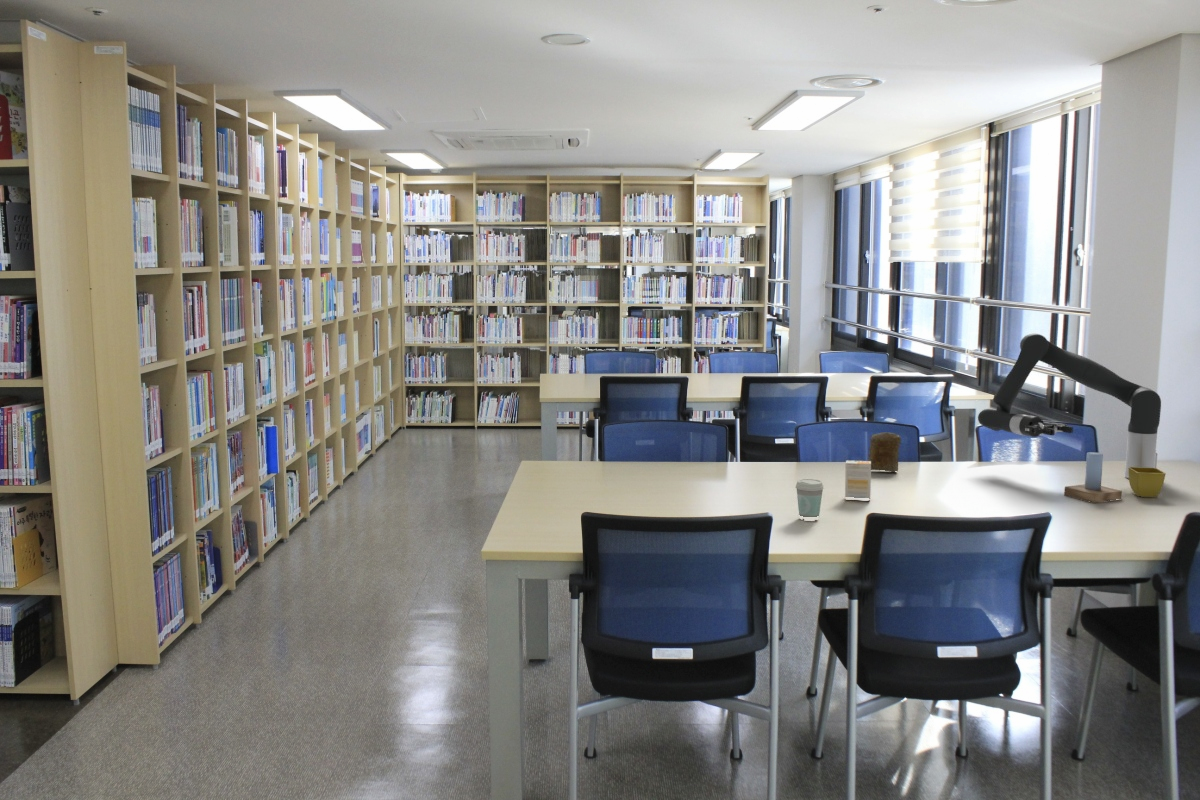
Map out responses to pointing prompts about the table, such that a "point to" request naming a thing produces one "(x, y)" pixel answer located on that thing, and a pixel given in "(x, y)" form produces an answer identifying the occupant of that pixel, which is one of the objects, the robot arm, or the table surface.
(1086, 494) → the stand
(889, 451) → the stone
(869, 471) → the supplement box
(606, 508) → the table surface
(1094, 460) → the pale blue tumbler
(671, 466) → the table surface
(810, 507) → the coffee cup
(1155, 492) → the flower pot
